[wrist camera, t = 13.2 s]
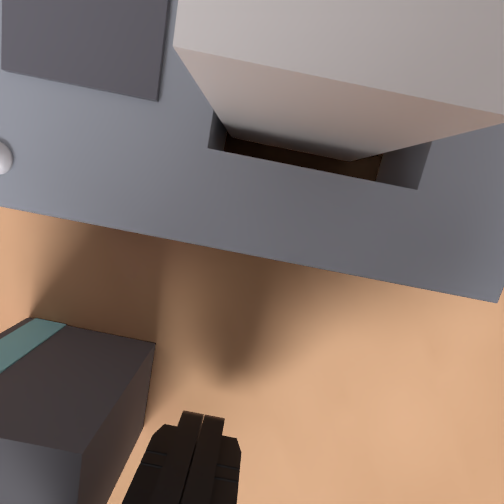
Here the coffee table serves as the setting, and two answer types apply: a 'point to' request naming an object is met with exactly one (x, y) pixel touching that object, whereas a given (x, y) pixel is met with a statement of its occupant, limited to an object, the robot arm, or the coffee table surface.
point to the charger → (346, 70)
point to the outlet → (223, 160)
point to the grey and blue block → (68, 411)
